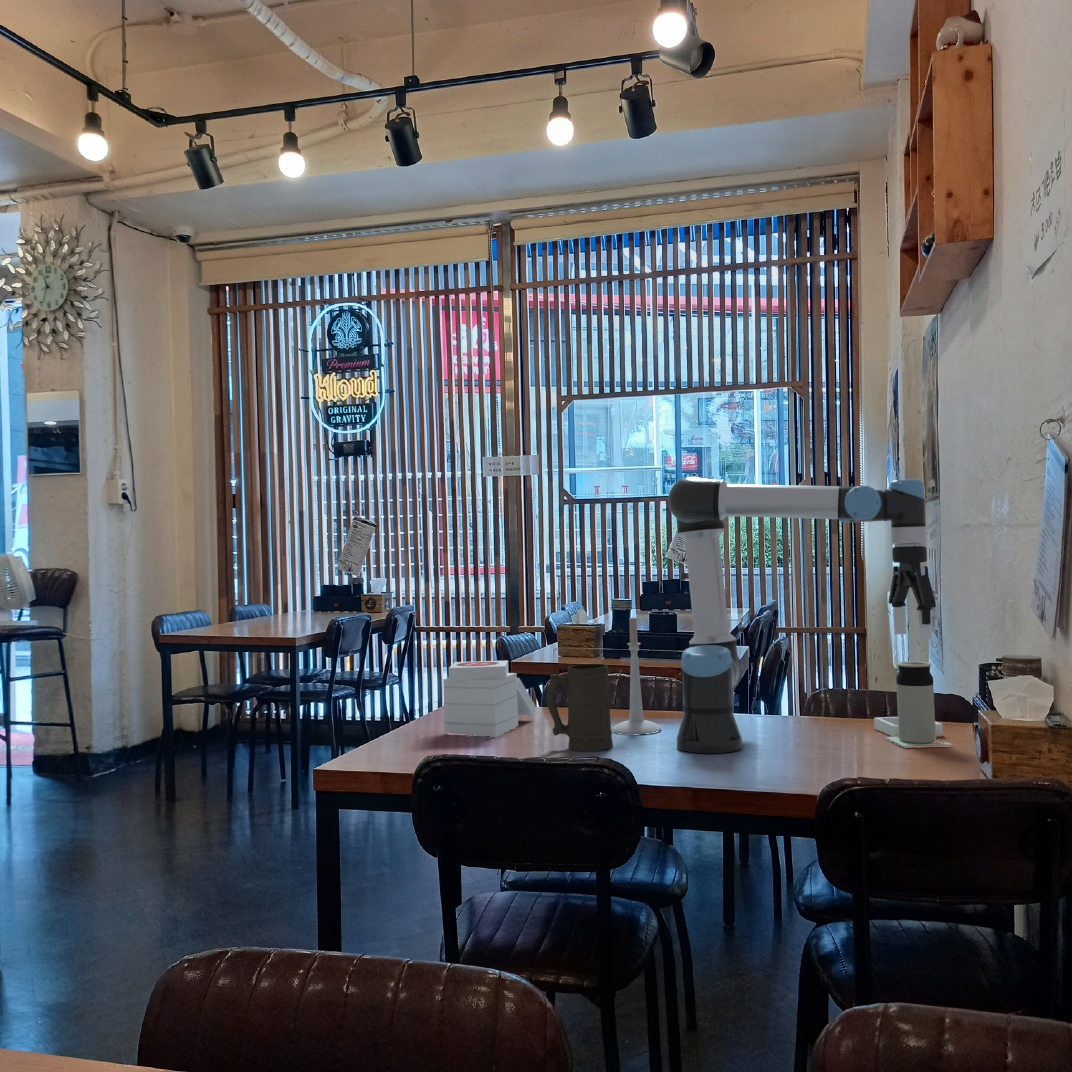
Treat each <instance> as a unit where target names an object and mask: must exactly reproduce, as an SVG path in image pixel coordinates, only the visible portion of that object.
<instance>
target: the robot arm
mask: <svg viewBox="0 0 1072 1072" xmlns="http://www.w3.org/2000/svg"><path fill="white" fill-rule="evenodd" d="M667 502H668V508H669V511H670V512H671V514H672V515H673V516H674V518H676V526H677V535H678V536H679V537H680V538H682V539H683V540H684V545H685V556H686V565H687V573H688V584H689V595H690V596H689V597H690V604H691V615H692V624H693V633H694V635H693V637H692V638H691V639H690V640H689V642H688V644H689V647H688V648H685V649H684V650H683V652H682V653H681V661H680V668H681V684H682V687H681V688H682V705H683V707H682V709H683V711H682V712H683V715H682V719H681V723H680V725H679V730H678V733H677V736H676V748H677V749H678V750H680V751H684V752H689V753H693V754H694V753H695V754H724V753H725V754H726V753H732V752H737V751H741V750H742V748H743V739H742V738H743V737H742V734H741V732H740V728H739V727H738V723H737V721H736V719H735V718H736V717H735V715H734V694H733V693H734V691H733V689H734V688H735V687H736V686H737V684H739V681H740V678H741V676H742V671H743V669H742V662H741V659H740V657H739V654H738V647H737V638H736V637H735V636H734V635H733V634H732V633H730V628H729V621H728V620H729V619H728V618H729V617H728V611H727V609H728V608H727V602H726V601H727V600H726V589H725V582H724V581H725V579H724V573H723V572H724V571H723V563H722V561H723V560H722V554H721V553H722V552H721V551H722V550H721V541H720V537H721V536H722V534H723V533H724V531H725V522H724V521H725V520H724V519H725V518H726V517H743V518H744V517H749V518H750V517H751V518H754V517H755V518H778V519H779V518H781V519H782V518H783V519H784V518H785V519H789V518H791V519H814V520H815V519H816V520H818V519H819V520H820V519H823V520H838V521H839V522H841V523H850V524H851V523H852V524H854V523H870V522H871V523H872V522H890V523H891V524H890V525H891V528H890V530H891V531H890V533H891V535H890V537H891V545H894V546H893V547H892V550H891V551H892V552H891V553H892V555H891V557H892V560H891V561H892V562H893V563H897V564H899V565H896V566H895V565H894V566H892V579H891V584H890V585H891V586H890V591H889V597H888V604H891V607H892V609H893V610H892V612H893V634H894V635H907V616H906V615H907V608H906V607H907V603H906V600H907V597H908V593H909V590H910V588H911V590H912V592H913V593H912V594H913V595H914V598H915V600H916V603H917V607H916V610H917V634H918V637H917V639H918V640H932V639H933V638H932V637H933V636H932V633H933V632H932V610H933V608H936V606H937V603H936V599H935V596H934V591H933V589H932V585H931V580H930V576H929V567H928V566H927V565H925V566H924V565H923V566H922V565H921V563H926V562H927V560H928V551H927V550H928V548H927V546H924V544H925V545H926V543H927V535H928V531H927V529H926V522H927V520H926V496H925V485H924V483H923V481H922V480H920V479H915V478H914V479H910V478H909V479H908V478H907V479H897V480H896V479H895V480H892V481H890V483H889V487H888V488H886V489H885V488H884V489H875V488H873V487H871V486H869V485H857V486H839V485H835V486H834V485H833V486H832V485H796V484H793V485H789V484H787V485H786V484H784V485H783V484H746V483H745V484H744V483H743V484H740V483H739V484H737V483H735V484H734V483H733V484H732V483H727V482H726V481H725V480H724V479H714V478H713V479H712V478H704V477H700V476H695V475H693V476H686V477H683V478H681V479H679V480H678V481H677V482H675V483H674V485H672V487H671V488H670V491H669V493H668V499H667Z"/></svg>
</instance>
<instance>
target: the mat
mask: <svg viewBox="0 0 1072 1072" xmlns="http://www.w3.org/2000/svg"><path fill="white" fill-rule="evenodd" d="M885 739H888V740H890V741H892V742H894V743H896V744H899V745H900V746H903V747H908V746H935V745H933V744H936V746H937V744H938V745H952V746H953V744H952V743H950V742H947V741H945V742H946V743H945V742H944V743H942V742H938V743H925V744H926V745H925V744H917V743H908V742H904V741H902V740H900V739H899V737H890V736H885V737H884V740H885ZM929 744H931V745H929Z"/></svg>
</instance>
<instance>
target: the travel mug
mask: <svg viewBox="0 0 1072 1072" xmlns="http://www.w3.org/2000/svg"><path fill="white" fill-rule="evenodd" d="M896 666H897V668H898V673H897V675H896V677H895V678H896V679H895V680H896V703H897V717H898V730H899V739H900V740H902V741H904V742H908V743H917V744H925V743H932V742H934V741H935V740H936V738H937V737H936V733H935V721H936V716H935V715H936V714H935V712H936V711H935V691H934V690H935V689H934V677H933V675H932V673H931V671H930V670H931V666H932V663H931V662H928V661H899V662H897V663H896Z"/></svg>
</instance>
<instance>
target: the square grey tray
mask: <svg viewBox="0 0 1072 1072" xmlns="http://www.w3.org/2000/svg"><path fill="white" fill-rule="evenodd" d="M873 722H874V724H873V725H874V730H875V729H878V730H880V731H883V732H884V733H886V734H889V735H891V736H899V730H898V716H885V717H881V716H880V717H878V716H877V717H874V718H873ZM935 733H936V734H943V735H944V724H943V723H941V722H937V721H936V720H935Z"/></svg>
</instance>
